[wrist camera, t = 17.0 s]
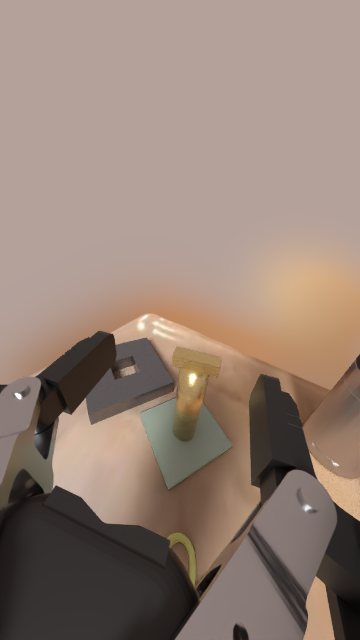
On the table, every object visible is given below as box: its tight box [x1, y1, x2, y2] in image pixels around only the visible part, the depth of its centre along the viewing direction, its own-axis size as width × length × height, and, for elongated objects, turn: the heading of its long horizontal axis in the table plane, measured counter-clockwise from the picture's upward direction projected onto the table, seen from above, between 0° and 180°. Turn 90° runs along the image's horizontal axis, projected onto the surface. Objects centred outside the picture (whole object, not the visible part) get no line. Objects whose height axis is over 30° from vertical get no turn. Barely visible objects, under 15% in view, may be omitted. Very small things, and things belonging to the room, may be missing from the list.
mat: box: [140, 398, 233, 490], centre depth 33 cm, size 12×12×1 cm
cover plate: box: [86, 338, 174, 425], centre depth 41 cm, size 16×16×3 cm
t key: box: [172, 347, 221, 442], centre depth 28 cm, size 6×4×17 cm, turn 74°
